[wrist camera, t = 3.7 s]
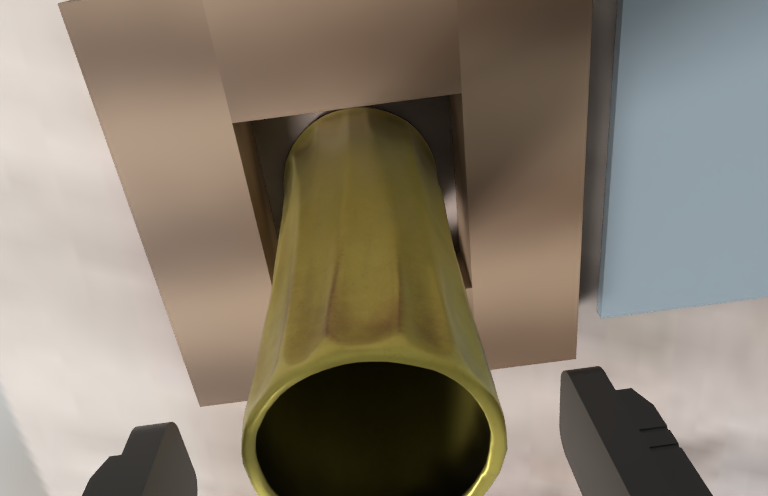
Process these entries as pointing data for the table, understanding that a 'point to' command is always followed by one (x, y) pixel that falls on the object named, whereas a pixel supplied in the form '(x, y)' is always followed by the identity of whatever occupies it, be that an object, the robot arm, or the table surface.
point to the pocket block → (331, 92)
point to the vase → (369, 329)
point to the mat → (686, 157)
